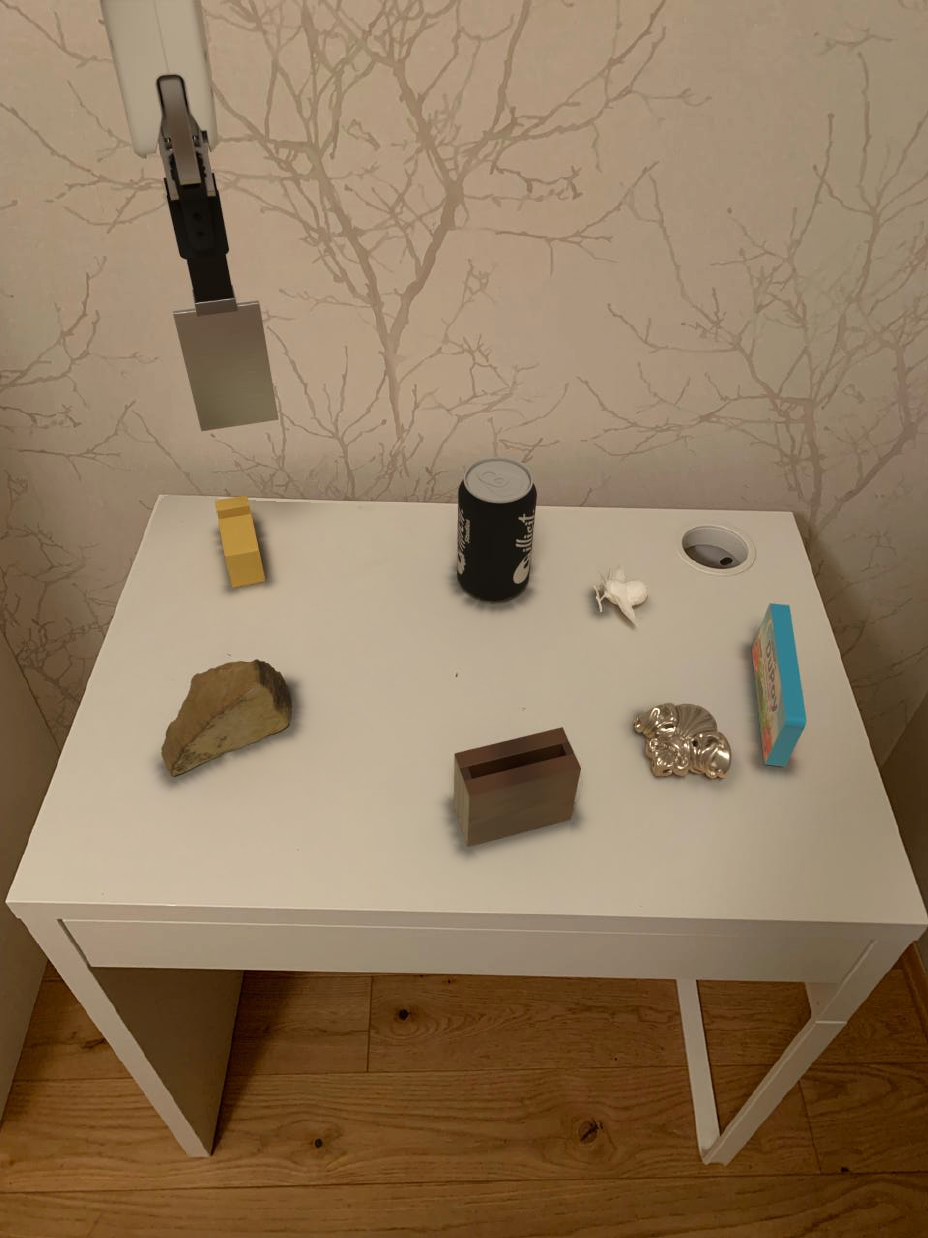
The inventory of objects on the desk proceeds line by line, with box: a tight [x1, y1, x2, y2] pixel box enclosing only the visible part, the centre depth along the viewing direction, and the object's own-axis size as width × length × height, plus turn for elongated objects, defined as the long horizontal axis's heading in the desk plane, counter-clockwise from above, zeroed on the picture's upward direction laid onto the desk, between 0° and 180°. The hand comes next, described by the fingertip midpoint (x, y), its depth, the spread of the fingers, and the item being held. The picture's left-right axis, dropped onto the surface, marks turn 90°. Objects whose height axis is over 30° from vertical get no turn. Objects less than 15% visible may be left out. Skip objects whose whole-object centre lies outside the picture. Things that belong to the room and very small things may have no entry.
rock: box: [160, 658, 292, 777], centre depth 70 cm, size 11×9×10 cm
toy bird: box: [592, 561, 650, 628], centre depth 80 cm, size 8×5×5 cm, turn 4°
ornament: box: [633, 702, 732, 780], centre depth 70 cm, size 8×7×4 cm
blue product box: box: [751, 602, 807, 768], centre depth 72 cm, size 12×2×6 cm, turn 173°
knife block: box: [453, 727, 582, 848], centre depth 65 cm, size 8×4×7 cm, turn 107°
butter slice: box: [214, 494, 252, 520], centre depth 86 cm, size 3×2×4 cm, turn 107°
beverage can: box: [456, 455, 538, 602], centre depth 79 cm, size 7×7×12 cm
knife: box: [171, 157, 279, 432], centre depth 64 cm, size 6×2×20 cm, turn 106°
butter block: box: [217, 513, 267, 589], centre depth 83 cm, size 3×5×4 cm, turn 17°
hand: (202, 244), depth 61 cm, fingers closed on knife, 1 cm apart
